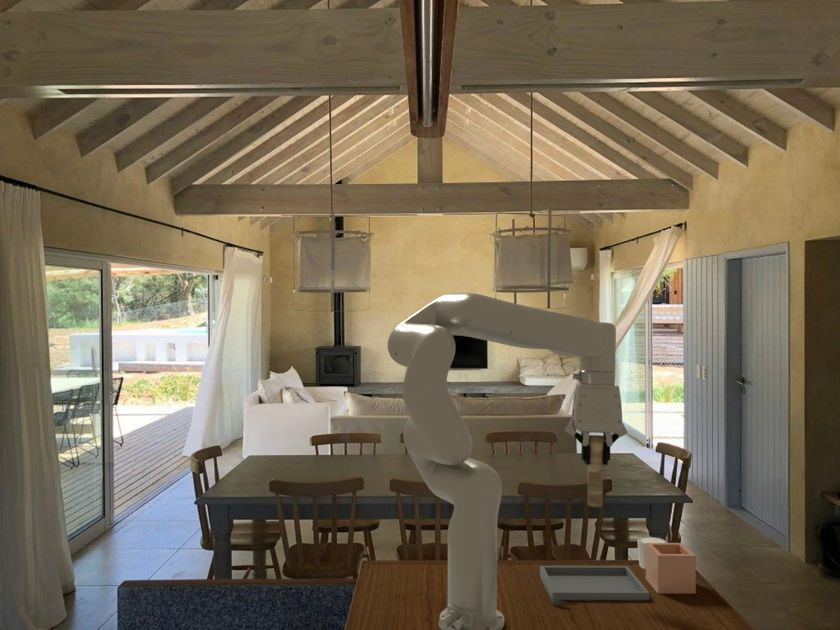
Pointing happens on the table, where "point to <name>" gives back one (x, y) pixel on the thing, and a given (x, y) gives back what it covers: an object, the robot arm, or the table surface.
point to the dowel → (595, 471)
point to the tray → (591, 583)
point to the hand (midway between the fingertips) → (595, 462)
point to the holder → (670, 568)
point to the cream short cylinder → (642, 548)
